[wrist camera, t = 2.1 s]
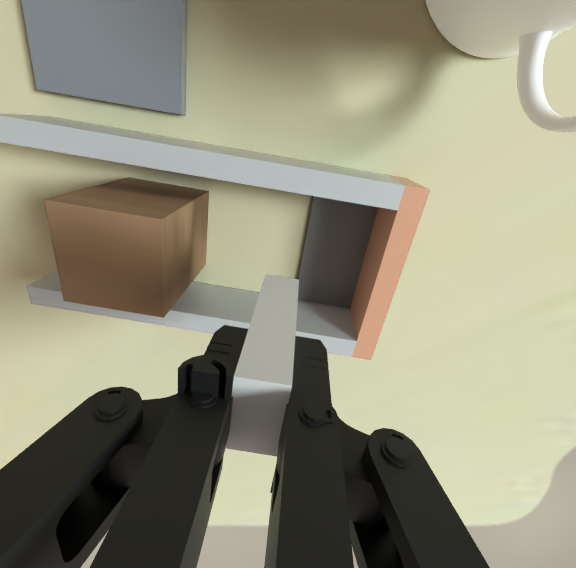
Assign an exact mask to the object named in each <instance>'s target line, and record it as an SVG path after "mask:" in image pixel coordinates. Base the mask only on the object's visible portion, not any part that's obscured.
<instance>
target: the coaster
mask: <svg viewBox="0 0 576 568" xmlns="http://www.w3.org/2000/svg"><path fill="white" fill-rule="evenodd" d="M21 2H22V8H23V14H24V20H25V25H26V31H27V37H28V43H29V49H30V54H31V60H32V66H33V72H34V78H35V84H36V89H37V90H43V91H49V92H55V93H60V94H66V95H72V96H78V97H83V98H89V99H95V100H101V101H106V102H112V103H118V104H123V105H129V106H135V107H141V108H146V109H152V110H158V111H164V112H169V113H175V114H181V115H185V112H186V4H187V0H21Z"/></svg>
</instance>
